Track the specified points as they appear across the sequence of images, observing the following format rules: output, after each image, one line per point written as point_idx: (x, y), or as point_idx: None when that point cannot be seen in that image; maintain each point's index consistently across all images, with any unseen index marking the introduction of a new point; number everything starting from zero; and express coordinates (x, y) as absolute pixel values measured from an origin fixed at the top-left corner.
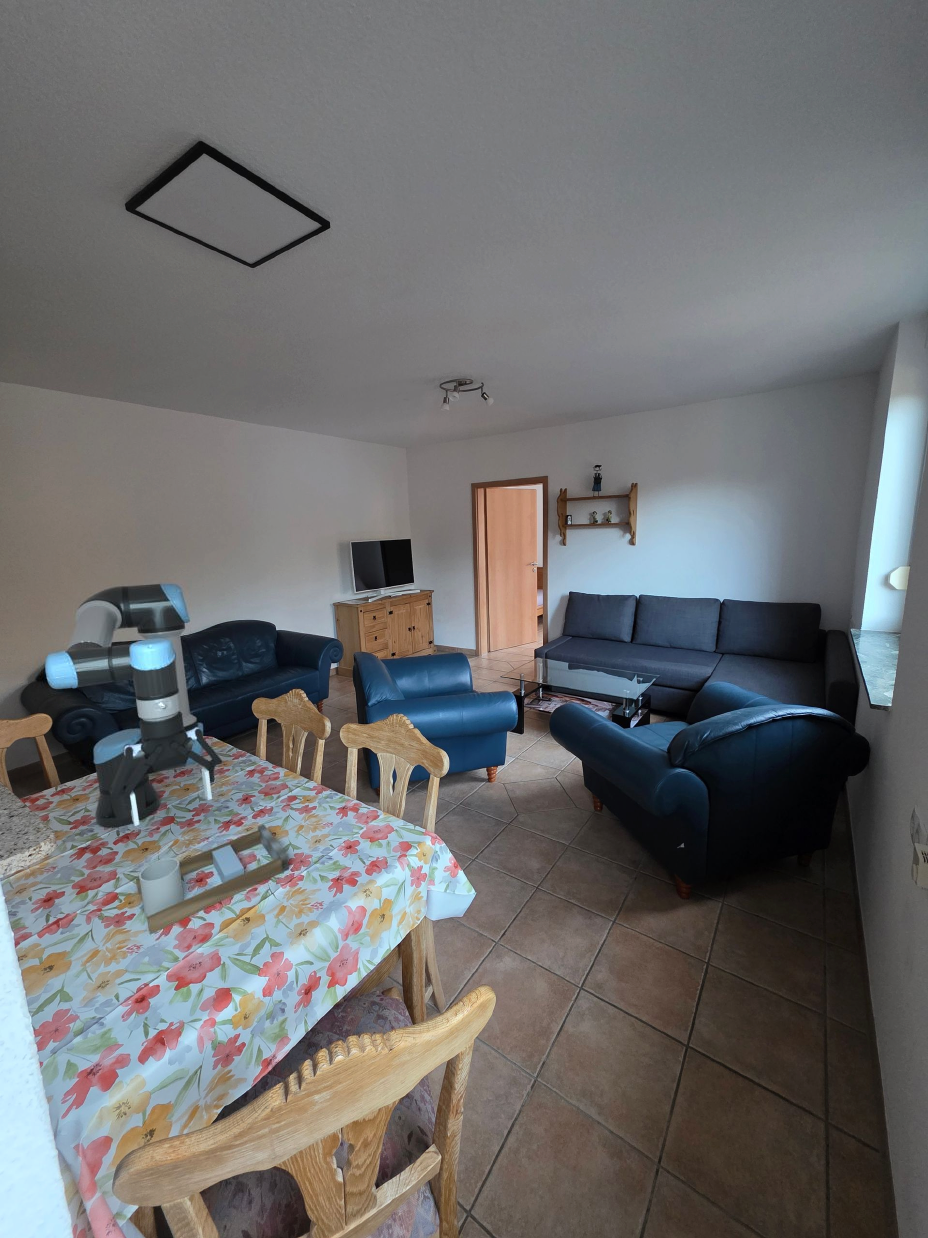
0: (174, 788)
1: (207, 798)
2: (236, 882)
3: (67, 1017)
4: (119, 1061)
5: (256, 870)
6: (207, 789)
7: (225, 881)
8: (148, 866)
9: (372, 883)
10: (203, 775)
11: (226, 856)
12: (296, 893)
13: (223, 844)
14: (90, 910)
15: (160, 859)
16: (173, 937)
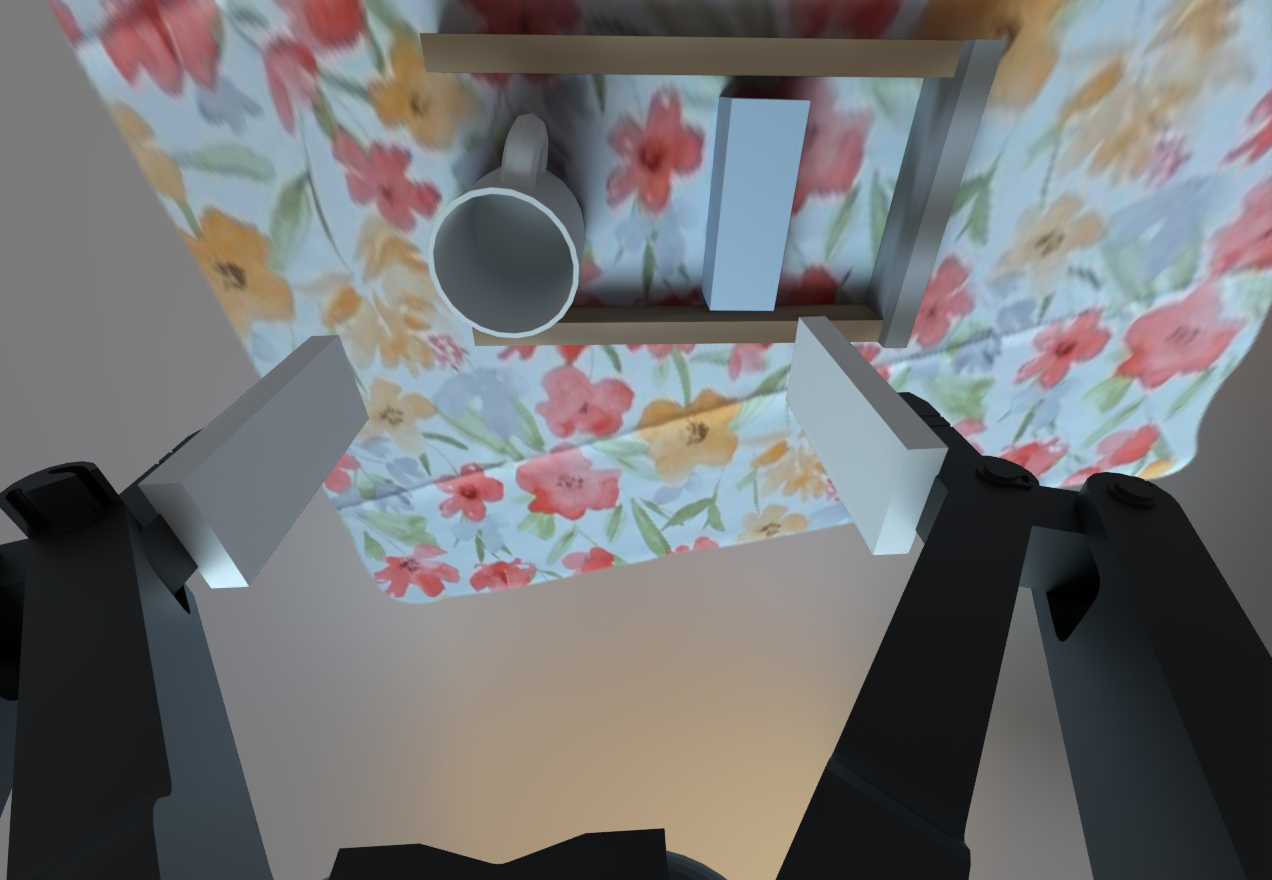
0: None
1: (790, 387)
2: (729, 342)
3: None
4: (443, 572)
5: None
6: (815, 444)
7: (707, 303)
8: (461, 202)
9: None
10: (865, 461)
11: (761, 189)
12: None
13: (796, 44)
14: (269, 31)
15: (511, 189)
16: (538, 376)
